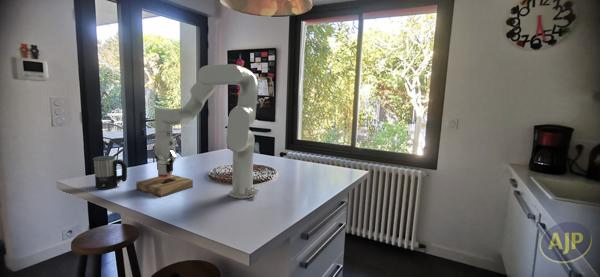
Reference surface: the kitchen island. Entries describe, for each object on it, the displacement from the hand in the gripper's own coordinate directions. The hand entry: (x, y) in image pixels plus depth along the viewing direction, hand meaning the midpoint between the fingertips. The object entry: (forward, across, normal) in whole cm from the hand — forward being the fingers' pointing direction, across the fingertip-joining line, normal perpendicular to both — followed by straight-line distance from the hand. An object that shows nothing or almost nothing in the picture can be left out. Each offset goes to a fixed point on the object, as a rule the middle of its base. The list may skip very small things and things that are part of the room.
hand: (165, 170), depth 143 cm
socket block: (+9, 0, 0) cm, 9 cm away
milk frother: (+9, +26, +11) cm, 30 cm away
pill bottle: (+4, 0, 0) cm, 4 cm away
